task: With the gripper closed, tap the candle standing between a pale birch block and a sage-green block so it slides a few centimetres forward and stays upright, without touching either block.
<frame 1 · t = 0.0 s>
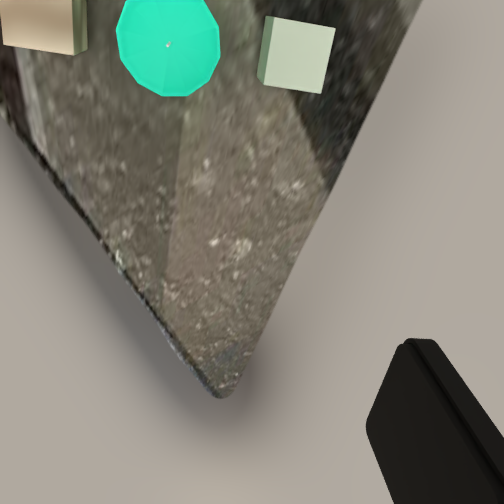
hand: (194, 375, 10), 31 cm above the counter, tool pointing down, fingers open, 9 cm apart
candle: (177, 32, 34), on the counter
birch block: (55, 11, 32), on the counter
sage block: (287, 51, 35), on the counter
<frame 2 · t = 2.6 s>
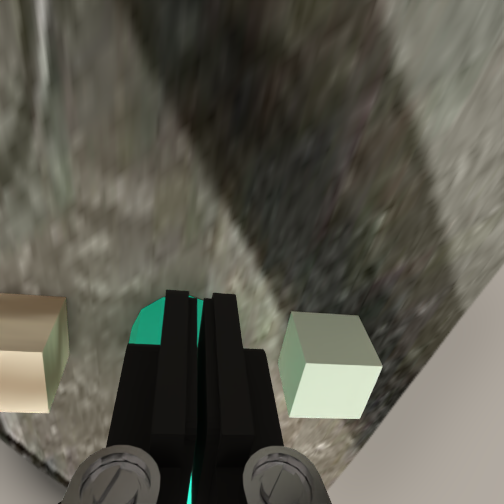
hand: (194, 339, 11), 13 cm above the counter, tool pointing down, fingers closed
candle: (180, 330, 27), on the counter
birch block: (28, 323, 26), on the counter
sage block: (316, 338, 29), on the counter
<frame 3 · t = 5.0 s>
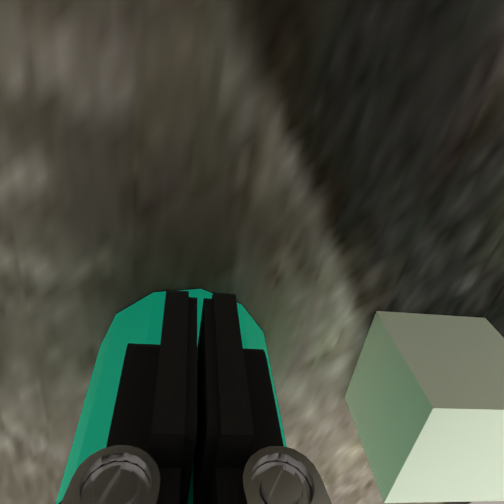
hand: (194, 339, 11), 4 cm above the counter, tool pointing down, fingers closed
candle: (185, 351, 16), on the counter, touching gripper
sage block: (411, 357, 17), on the counter
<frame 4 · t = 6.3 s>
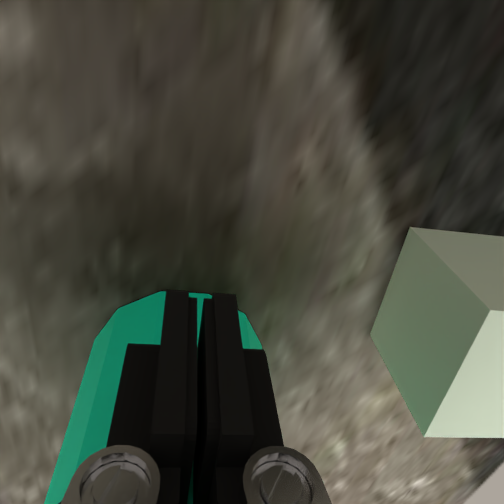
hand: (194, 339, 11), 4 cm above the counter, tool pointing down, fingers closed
candle: (179, 354, 16), on the counter, touching gripper
sage block: (445, 287, 15), on the counter
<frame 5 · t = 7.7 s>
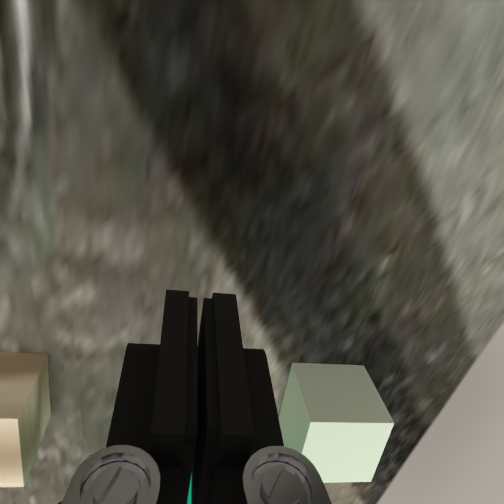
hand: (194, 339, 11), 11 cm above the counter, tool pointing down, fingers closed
birch block: (5, 383, 24), on the counter
sage block: (319, 391, 27), on the counter
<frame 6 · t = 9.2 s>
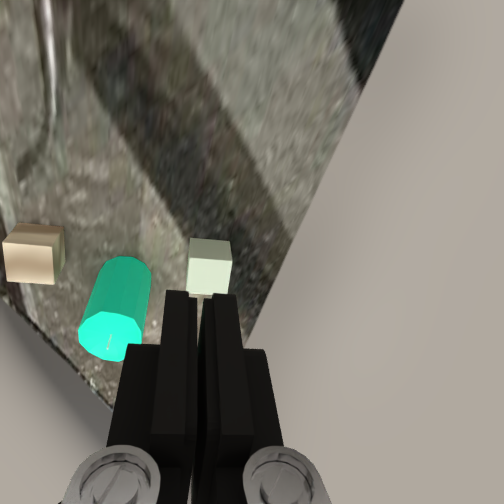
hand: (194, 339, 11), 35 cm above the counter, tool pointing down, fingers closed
candle: (126, 276, 50), on the counter
birch block: (42, 242, 47), on the counter
sage block: (207, 256, 50), on the counter
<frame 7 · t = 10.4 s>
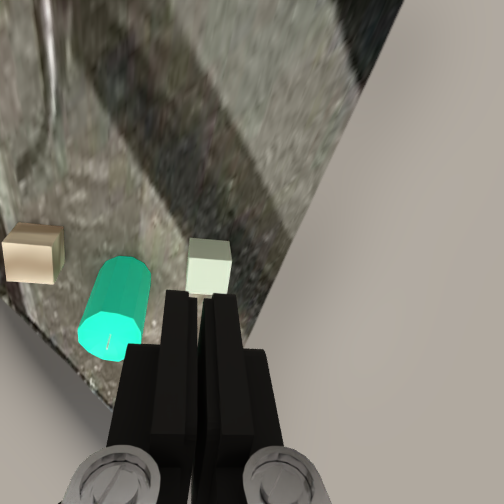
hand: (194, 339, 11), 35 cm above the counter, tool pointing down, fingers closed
candle: (125, 276, 50), on the counter
birch block: (42, 242, 47), on the counter
sage block: (207, 256, 50), on the counter
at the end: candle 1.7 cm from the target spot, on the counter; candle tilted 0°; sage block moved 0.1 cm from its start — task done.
